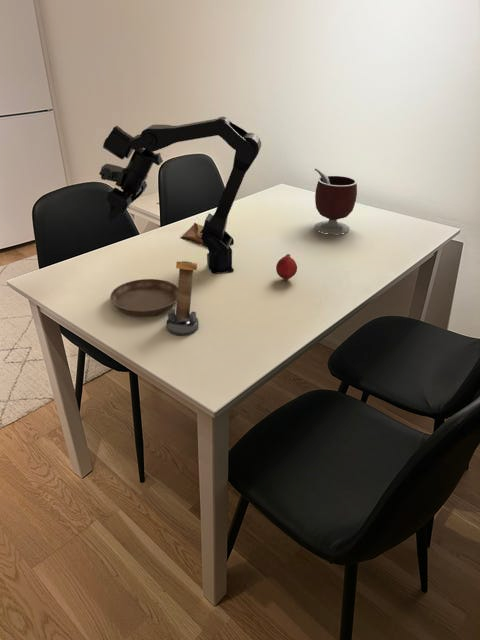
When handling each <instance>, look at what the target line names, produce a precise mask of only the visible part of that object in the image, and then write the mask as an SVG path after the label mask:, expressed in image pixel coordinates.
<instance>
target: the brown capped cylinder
mask: <svg viewBox="0 0 480 640" xmlns="http://www.w3.org/2000/svg"><path fill="white" fill-rule="evenodd" d="M175 268H176V269H178V270H179V271H178V282H177V283H178V285H177V287H178V294H177V302H176V309H175V315H176V317H177V318H183V319H187V318H189V314H190V313H191V301H192V292H193V291H192V289H193V287H192V286H193V278H194V277H193V276H194V271H197V270H198V263H196V262H193V261H188V260H185V261H184V260H181V261H176V267H175Z"/></svg>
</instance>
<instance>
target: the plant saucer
mask: <svg viewBox="0 0 480 640" xmlns="http://www.w3.org/2000/svg"><path fill="white" fill-rule="evenodd" d="M177 294H178V285H176V284H174V283H172V282H170V281H167V280H163V279H156V278H147V279H146V278H144V279H135V280H131V281H128V282H125V283H122V284H120V285H119V286H117V287H115V288H114V289H113V290H112V292H111V293H110V301H111V303H112V304H113V306H115V307H116V309H118V310H119V311H121V312H122V313H124V314H126V315H129V316H135V317H153V316H156V315H157V316H158V315H160V314H163V313H166V312H167V311H170V309H172V307H174V305H175V304H177Z"/></svg>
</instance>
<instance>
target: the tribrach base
mask: <svg viewBox="0 0 480 640" xmlns="http://www.w3.org/2000/svg"><path fill="white" fill-rule="evenodd" d="M167 316H168V317H167V320H166V324H165V325H166V330H167V332H168V333H169V334H170V335H174V336H179V337H183V336H190V335H192V334H195V333H196V332H197V331H198V330H199V319H198V318H197V312H196V311H190V314H189V318H187V319H183V318H177V317H176V309H175V308H170V309H169V310H168V312H167Z"/></svg>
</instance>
